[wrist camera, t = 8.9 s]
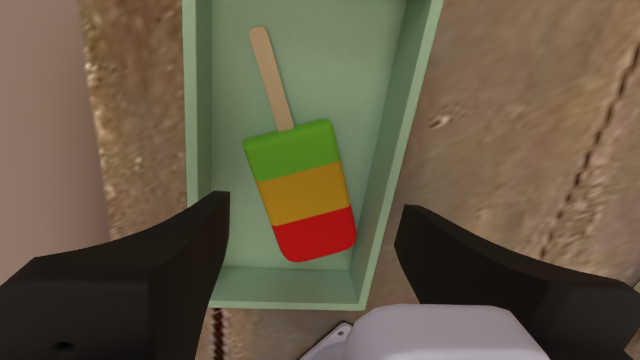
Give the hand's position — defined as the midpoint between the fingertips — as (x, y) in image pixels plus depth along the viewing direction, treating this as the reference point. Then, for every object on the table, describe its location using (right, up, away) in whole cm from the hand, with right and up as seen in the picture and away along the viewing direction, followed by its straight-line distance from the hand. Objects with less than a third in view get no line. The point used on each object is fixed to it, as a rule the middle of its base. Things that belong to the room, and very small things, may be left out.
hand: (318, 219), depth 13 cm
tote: (-2, +4, +8) cm, 9 cm away
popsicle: (-2, +3, +8) cm, 9 cm away
